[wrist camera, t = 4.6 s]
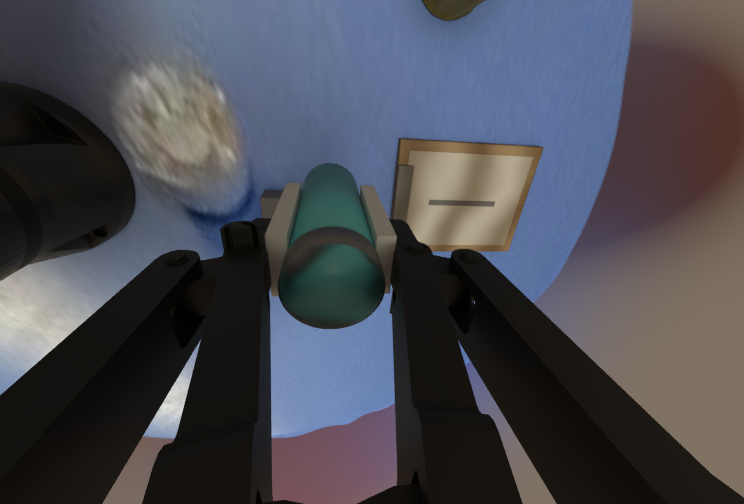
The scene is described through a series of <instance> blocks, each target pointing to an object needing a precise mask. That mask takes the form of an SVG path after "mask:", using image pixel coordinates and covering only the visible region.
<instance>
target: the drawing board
mask: <svg viewBox="0 0 744 504" xmlns="http://www.w3.org/2000/svg"><path fill="white" fill-rule="evenodd" d="M542 151H543V147H540V146H524V145H507V144H490V143H473V142H456V141H439V140H422V139H405V138H399V147H398V156H397V165H396V174H395V183H394V192H393V201H392V210H391V219H401V220H403V221H404V222H406V223H407V224H408V225H409V227H410V228H411V230H412V232H413V234H414V235H415V237H416V239H417V241H418V242H421V243H424V244H426V245H427V246H429V247H430V249H431V251H454V250H456V249H471V250H474V251H508V250H509V247H510V244H511V241H512V238H513V235H514V232H515V230H516V227H517V224H518V221H519V218H520V215H521V212H522V209H523V206H524V203H525V200H526V198H527V195H528V192H529V189H530V186H531V183H532V180H533V177H534V174H535V171H536V168H537V166H538V163H539V160H540V157H541V154H542Z"/></svg>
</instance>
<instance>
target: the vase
mask: <svg viewBox="0 0 744 504" xmlns="http://www.w3.org/2000/svg"><path fill="white" fill-rule="evenodd" d="M483 1H485V0H423V2H424V4H425V5H426V7H427V8H428V10H429V11H430V12H431V13H432V14H433V15H435V16H436V17H438V18H440V19H444V20H449V21H450V20H456V19H459V18H461V17H464V16H466V15H467V14H469V13H470V12H471V11H472V10H473V9H474V8H475V7H476V6H477V5H479V4H480V3H482V2H483Z"/></svg>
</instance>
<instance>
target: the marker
mask: <svg viewBox="0 0 744 504" xmlns="http://www.w3.org/2000/svg"><path fill="white" fill-rule="evenodd" d="M385 286H386V282H385V276H384V272H383V269H382V266H381V262H380V259H379V256H378V253H377V251H376V249H375V247H374V243H373V240H372V237H371V233H370V230H369V226H368V223H367V219H366V216H365V212H364V209H363V206H362V202H361V199H360V195H359V192H358V188H357V185H356V181H355V179H354V177H353V175H352V174H351V173H350V172H349V171H348V170H347V169H346V168H344V167H342V166H340V165H338V164H333V163H326V164H321V165H319V166H317V167H315V168H313V169H312V170H311V171H310V172H309V173H308V175H307V176H306V179H305V181H304V185H303V189H302V193H301V199H300V203H299V207H298V211H297V215H296V219H295V223H294V227H293V231H292V235H291V240H290V244H289V248H288V250H287V252H286V254H285V257H284V260H283V264H282V268H281V272H280V275H279V280H278V294H279V298H280V301H281V303H282V305H283V306H284V308H285V309H286V310H287V312H288V313H289V314H290V315H291V316H293V317H294V318H295V319H296V320H298V321H300V322H302V323H304V324H306V325H309V326H312V327H316V328H321V329H339V328H345V327H348V326H352V325H354V324H357V323H359V322H361V321H363V320H364V319H366V318H367V317H369V316H370V315H371V314H372V313H373V312H374V311H375V310H376V309H377V307H378V306H379V305H380V303H381V301H382V299H383V296H384V293H385Z"/></svg>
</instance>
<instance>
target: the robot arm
mask: <svg viewBox="0 0 744 504" xmlns="http://www.w3.org/2000/svg"><path fill="white" fill-rule="evenodd" d="M300 199H301V183H286V186H285V188H284V191H283V193H282V195H281V198H280V200H279V202H278V205H277V207H276V210H275V212H274V214H273V217H272V218H256V219H255V220H253V221H252V222H251V221H237V222H232V223H228V224H226V225H224V226H222V227H221V229H220V232H221V237H222V242H223V247H224V253H223V256H222V257H218V258H214V259H207V260H201V261H200V257H199V254H198V253H197V252H195V251H191V250H175V251H171V252H169V253H166V254H164V255H161V256H160V257H158V258H157V259H155V260H154V261H153V262H152V263H151V264H150V265H149V266H147V267H146V268H145V269H144V270H143V271H142V272H141V273H139V274H138V275H137V276H136V277H135V278H134V279H133V280H131V281H130V282H129V283H128V284H127V285H126V286H125V287H123V288H122V289H121V290H120V291H119V292H118V293H117V294H115V295H114V296H113V297H112V298H111V299H110V300H109V301H107V302H106V303H105V304H104V305H103V306H102V307H101V308H99V309H98V310H97V311H96V312H95V313H94V314H93V315H91V316H90V317H89V318H88V319H87V320H86V321H85V322H83V323H82V324H81V325H80V326H79V327H78V328H77V329H76V330H74V331H73V332H72V333H71V334H70V335H69V336H68V337H66V338H65V339H64V340H63V341H62V342H61V343H60V344H58V345H57V346H56V347H55V348H54V349H53V350H52V351H50V352H49V353H48V354H47V355H46V356H45V357H44V358H42V359H41V360H40V361H39V362H38V363H37V364H36V365H34V366H33V367H32V368H31V369H30V370H29V371H28V372H26V373H25V374H24V375H23V376H22V377H21V378H20V379H18V380H17V381H16V382H15V383H14V384H13V385H12V386H10V387H9V388H8V389H7V390H6V391H5V392H4V393H2V394H1V395H0V504H102V503H103V501H104V500H105V498H106V496H107V495H108V493H109V491H110V490H111V488H112V486H113V485H114V483H115V481H116V480H117V478H118V476H119V475H120V473H121V471H122V470H123V468H124V466H125V464H126V463H127V461H128V459H129V458H130V456H131V455H132V452H133V451H134V449H135V448H136V446H137V445H138V443H139V441H140V440H141V438H142V436H143V435H144V433H145V431H146V430H147V428H148V426H149V425H150V423H151V421H152V420H153V418H154V416H155V415H156V413H157V411H158V410H159V408H160V406H161V405H162V403H163V401H164V400H165V398H166V396H167V395H168V393H169V391H170V390H171V388H172V386H173V385H174V383H175V381H176V380H177V378H178V376H179V375H180V373H181V371H182V370H183V368H184V366H185V365H186V363H187V361H188V360H189V358H190V356H191V355H192V353H193V351H194V350H195V348H196V346H197V345H198V343H199V341H200V340H201V342H200V346H199V350H198V354H197V358H196V362H195V366H194V369H193V373H192V377H191V381H190V385H189V389H188V393H187V397H186V401H185V405H184V408H183V412H182V416H181V420H180V424H179V428H178V432H177V435H176V437H175V439H174V441H173V442H172V443H169V444H166V445H164V446H163V447H162V449H161V450H160V452H159V453H158V455H157V458H156V460H155V463H154V466H153V469H152V472H151V475H150V479H149V482H148V485H147V489H146V492H145V496H144V499H143V502H142V504H302V503H296V502H292V501H287V500H280V501H273V496H272V456H271V455H272V449H271V447H272V446H271V352H270V299H269V290H270V287H271V293H272V296H279V294H278V280H279V275H280V272H281V268H282V264H283V260H284V257H285V254H286V252H287V250H288V248H289V244H290V240H291V235H292V231H293V227H294V223H295V219H296V215H297V211H298V207H299V203H300ZM360 199H361V202H362V206H363V209H364V212H365V216H366V219H367V223H368V226H369V230H370V233H371V237H372V240H373V243H374V247H375V249H376V251H377V253H378V256H379V259H380V262H381V266H382V269H383V272H384V276H385V282H386V286H385V293H390V286H391V285H392V288H393V292H392V300H391V307H390V313H392V327H393V356H394V386H395V414H396V445H397V486H393V487H391V488H389V489H387V490H385V491H383V492H380V493H378V494H376V495H375V496H372V497H370V498H368V499H366V500H364V501H362V502H360V503H357V504H522V500H521V497H520V494H519V491H518V488H517V485H516V482H515V480H514V476H513V473H512V470H511V467H510V464H509V462H508V459H507V456H506V453H505V450H504V446H503V443H502V441H501V438H500V435H499V432H498V429H497V427H496V425H495V422H494V420H493V419H492V418H491V417H490V416H489V415H487V414H481V412H480V411H479V410H478V407H477V404H476V401H475V397H474V394H473V390H472V387H471V384H470V380H469V377H468V373H467V370H466V367H465V363H464V360H463V356H462V353H461V349H460V346H459V343H458V341H459V342H460V344H461V346H462V347H463V349H464V351H465V352H466V354H467V356H468V357H469V359H470V361H471V362H472V364H473V366H474V367H475V369H476V370H477V372H478V374H479V376H480V377H481V379H482V380H483V382H484V384H485V385H486V387H487V389H488V390H489V392H490V394H491V395H492V397H493V399H494V400H495V402H496V403H497V405H498V407H499V409H500V410H501V412H502V414H503V415H504V417H505V419H506V420H507V422H508V424H509V425H510V427H511V429H512V430H513V432H514V434H515V435H516V437H517V439H518V440H519V442H520V443H521V445H522V447H523V448H524V450H525V452H526V454H527V455H528V457H529V458H530V460H531V462H532V463H533V465H534V467H535V468H536V470H537V472H538V473H539V475H540V477H541V478H542V480H543V482H544V483H545V485H546V487H547V488H548V490H549V492H550V493H551V495H552V496H553V498H554V500H555V502H556V503H557V504H744V498H743V497H742V496H741V495H739V494H738V493H736V492H735V491H734V490H732V489H731V488H729V487H728V486H727V485H726V484H724V483H723V482H721V481H720V480H718V479H717V478H716V477H715V476H713V475H712V474H711V473H710V472H709V471H708V470H706V468H705V467H703V466H702V465H701V464H700V463H699V462H698V461H697V460H696V459H695V458H694V457H693V456H692V455H691V454H690V453H689V452H688V451H687V450H686V449H685V448H684V447H683V446H682V445H681V444H679V443H678V442H677V441H676V440H675V439H674V438H673V437H672V436H671V435H670V434H669V433H668V432H667V431H666V430H665V429H664V428H662V426H661V425H659V424H658V422H656V421H655V420H654V419H653V418H652V417H651V416H650V415H649V414H648V413H647V412H646V411H645V410H644V409H643V408H642V407H641V406H640V405H639V404H638V403H637V402H635V400H633V399H632V398H631V397H630V396H629V395H628V394H627V393H626V392H625V391H624V390H623V389H622V388H621V387H620V386H619V385H618V384H617V383H616V382H615V381H614V380H613V379H612V378H611V377H609V376H608V375H607V374H606V373H605V372H604V371H603V370H602V369H601V368H600V367H599V366H598V365H597V364H596V363H595V362H594V361H593V360H592V359H591V358H590V357H588V355H587V354H585V353H584V352H583V351H582V350H581V349H580V348H579V347H578V346H577V345H576V344H575V343H574V342H573V341H572V340H571V339H570V338H569V337H568V336H567V335H566V334H564V333H563V332H562V331H561V330H560V329H559V328H558V327H557V326H556V325H555V324H554V323H553V322H552V321H551V320H550V319H549V318H548V317H547V316H546V315H545V314H544V313H543V312H542V311H541V310H539V309H538V308H537V307H536V306H535V305H534V304H533V303H532V302H531V301H530V300H529V299H528V298H527V297H526V296H525V295H524V294H523V293H522V292H521V291H520V290H519V289H518V288H517V287H515V286H514V285H513V284H512V283H511V282H510V281H509V280H508V279H507V278H506V277H505V276H504V275H503V274H502V273H501V272H500V271H499V270H498V269H497V268H496V267H495V266H494V265H493V264H491V263H490V262H489V261H488V260H487V259H486V258H485V257H484V256H483V255H481V254H480V253H478V252H476V251H474V250H471V249H456V250H454V251H452V254H451V258H446V257H440V256H435V255H433V254H432V251H431V249H430V247H429V246H427V245H426V244H424V243H421V242H418V241H417V239H416V237H415V235H414V234H413V232H412V230H411V228H410V227H409V225H408V224H407V223H406V222H404V221H403V220H401V219H389V218H388V216H387V214H386V212H385V210H384V207H383V205H382V203H381V201H380V199H379V196H378V194H377V192H376V190H375V188H374V186H370V185H361V186H360ZM134 204H135V192H134V186H133V181H132V178H131V175H130V172H129V170H128V168H127V166H126V164H125V162H124V160H123V158H122V157H121V155H120V154H119V152H118V151H117V149H116V148H115V147H114V145H113V144H112V143H111V141H110V140H109V139H108V138H107V137H106V136H105V135H104V134H103V133H102V132H101V131H100V130H99V129H98V128H97V127H96V126H95V125H94V124H93V123H92V122H90V121H89V120H88V119H87V118H85V117H84V116H83V115H81V114H80V113H79V112H77V111H76V110H74V109H73V108H71V107H70V106H68V105H66V104H65V103H63V102H61V101H59V100H57V99H55V98H53V97H51V96H49V95H47V94H44V93H42V92H40V91H37V90H34V89H31V88H28V87H25V86H21V85H17V84H11V83H5V82H0V281H1V280H3V279H5V278H6V277H8V276H10V275H11V274H13V273H14V272H16V271H18V270H19V269H21V268H23V267H25V266H27V265H28V264H32V263H37V262H41V261H45V260H49V259H54V258H58V257H62V256H66V255H71V254H75V253H79V252H83V251H87V250H89V249H92V248H94V247H97V246H99V245H101V244H102V243H104V242H106V241H107V240H108V239H110V238H111V237H113V236H114V235H116V234H117V233H118V232H120V231H121V230H122V229H123V228H124V227H125V226H126V224H127V223H128V221H129V220H130V218H131V215H132V213H133V209H134ZM385 293H384V294H385ZM474 301H475V304H474V303H473V302H474Z"/></svg>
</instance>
